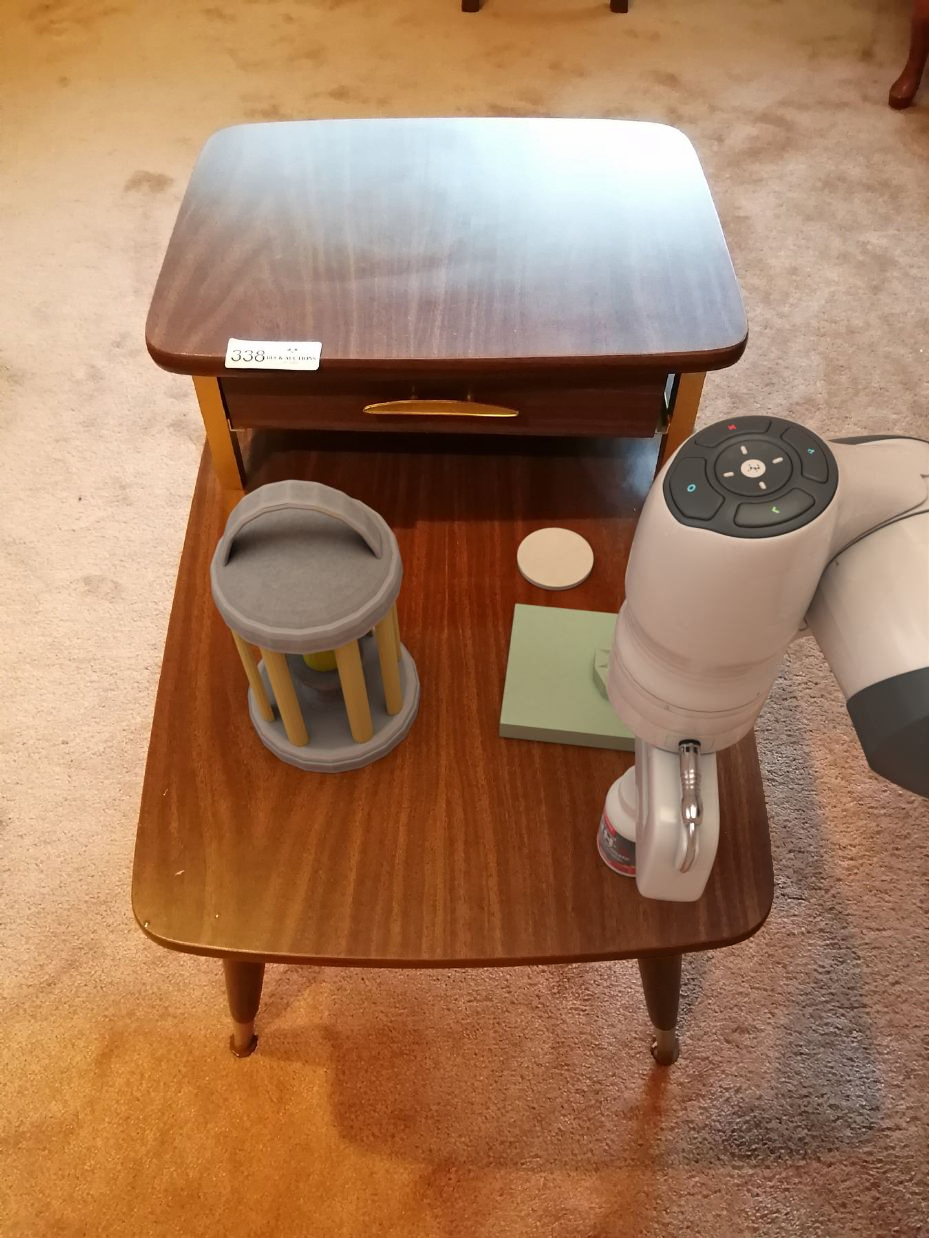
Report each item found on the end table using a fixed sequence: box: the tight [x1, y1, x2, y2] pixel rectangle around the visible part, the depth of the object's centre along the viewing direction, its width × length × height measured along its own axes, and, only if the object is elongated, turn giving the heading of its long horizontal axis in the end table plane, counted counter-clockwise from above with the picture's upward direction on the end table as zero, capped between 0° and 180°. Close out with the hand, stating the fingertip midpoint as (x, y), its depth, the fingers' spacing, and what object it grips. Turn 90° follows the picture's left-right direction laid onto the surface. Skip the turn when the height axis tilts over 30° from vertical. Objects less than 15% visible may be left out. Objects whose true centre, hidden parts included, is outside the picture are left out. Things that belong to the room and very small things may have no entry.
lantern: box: [209, 479, 421, 774], centre depth 72 cm, size 14×14×25 cm
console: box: [498, 603, 635, 753], centre depth 81 cm, size 14×12×4 cm
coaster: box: [516, 527, 594, 591], centre depth 91 cm, size 7×7×1 cm
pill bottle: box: [596, 764, 636, 878], centre depth 71 cm, size 5×5×10 cm
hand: (651, 783), depth 66 cm, fingers open, 8 cm apart
